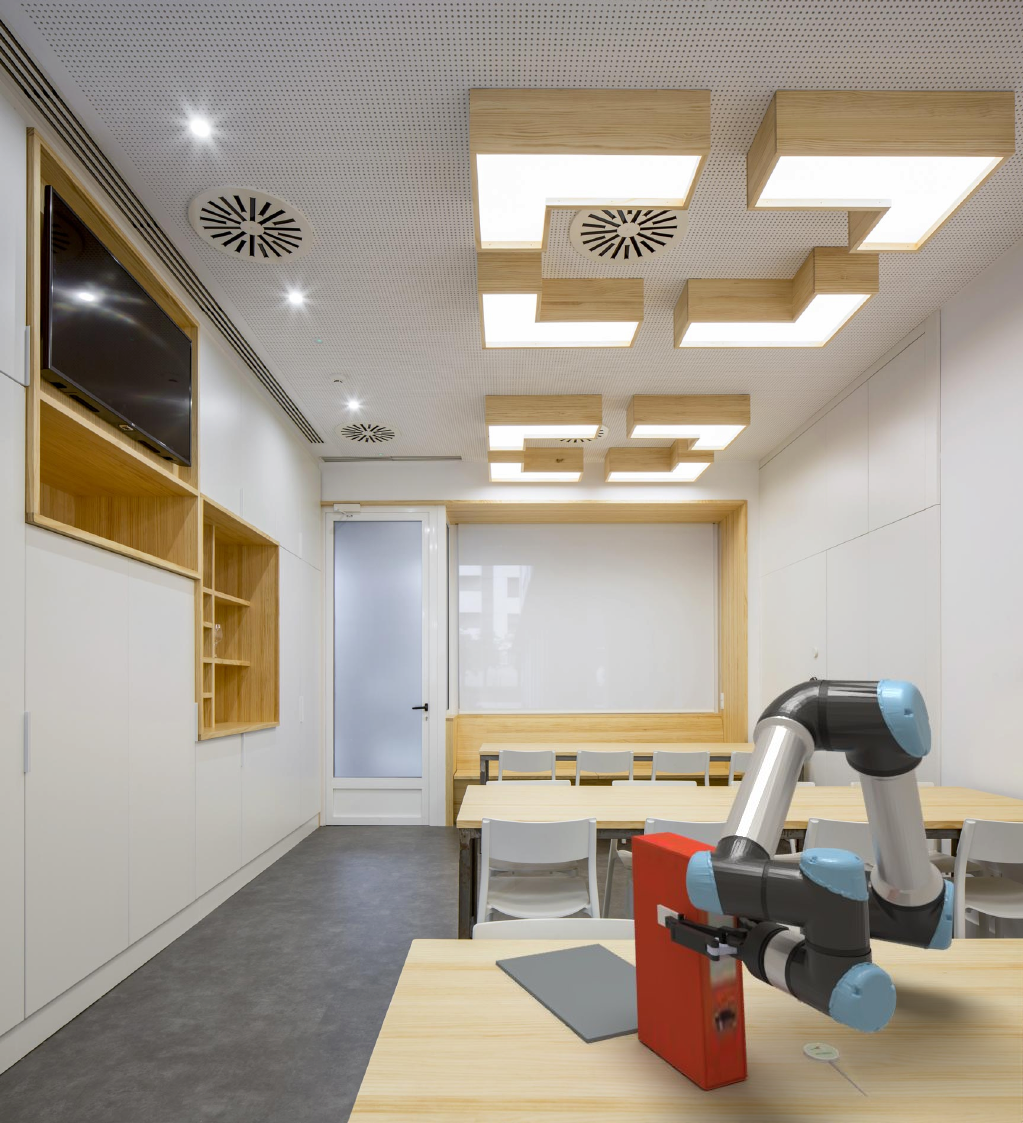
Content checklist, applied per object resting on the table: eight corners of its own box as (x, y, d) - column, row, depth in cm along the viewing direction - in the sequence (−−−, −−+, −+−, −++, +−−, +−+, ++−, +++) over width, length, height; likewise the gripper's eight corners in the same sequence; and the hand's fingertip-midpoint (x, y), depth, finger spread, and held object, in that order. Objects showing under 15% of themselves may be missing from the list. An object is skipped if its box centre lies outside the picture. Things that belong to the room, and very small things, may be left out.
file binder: (679, 1029, 135) (670, 831, 138) (749, 1078, 119) (736, 852, 123) (638, 1040, 131) (629, 836, 135) (704, 1091, 116) (692, 859, 119)
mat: (598, 946, 175) (598, 943, 175) (709, 1016, 140) (708, 1012, 140) (495, 963, 165) (495, 960, 165) (587, 1043, 131) (587, 1039, 131)
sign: (849, 1095, 114) (797, 1044, 129) (849, 1101, 114) (797, 1049, 129) (883, 1092, 115) (828, 1041, 130) (883, 1099, 115) (828, 1047, 129)
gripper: (723, 1002, 103) (626, 944, 124) (841, 975, 111) (732, 925, 132) (720, 940, 104) (625, 893, 125) (838, 918, 112) (730, 877, 133)
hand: (680, 910), depth 128 cm, fingers open, 7 cm apart
